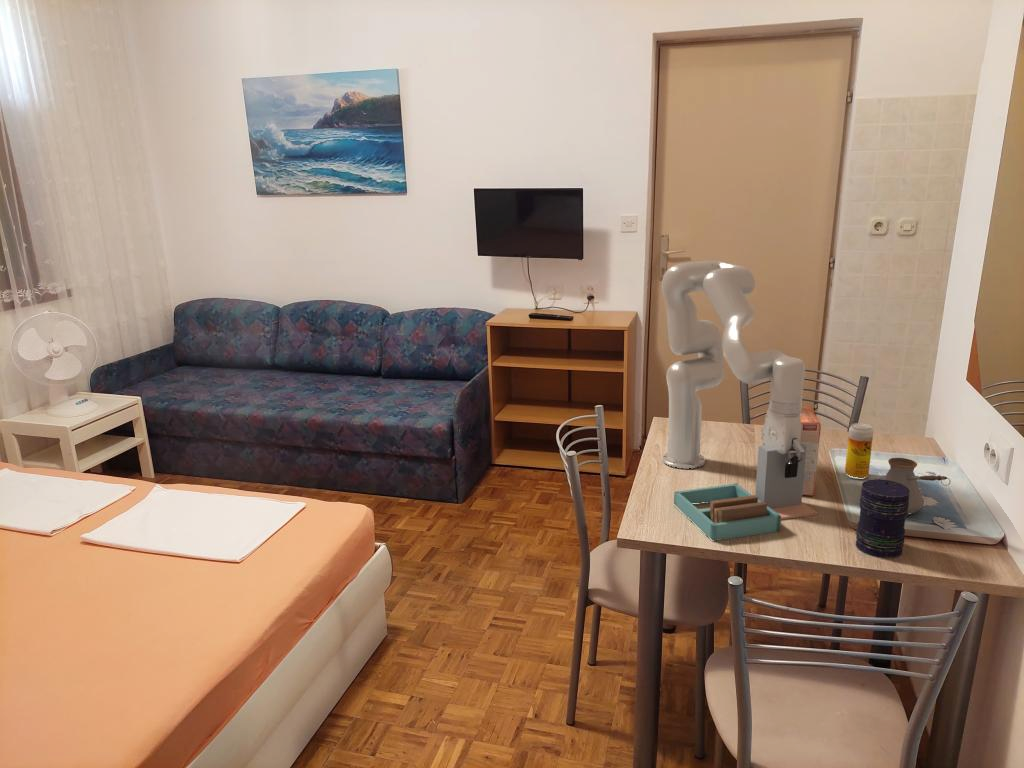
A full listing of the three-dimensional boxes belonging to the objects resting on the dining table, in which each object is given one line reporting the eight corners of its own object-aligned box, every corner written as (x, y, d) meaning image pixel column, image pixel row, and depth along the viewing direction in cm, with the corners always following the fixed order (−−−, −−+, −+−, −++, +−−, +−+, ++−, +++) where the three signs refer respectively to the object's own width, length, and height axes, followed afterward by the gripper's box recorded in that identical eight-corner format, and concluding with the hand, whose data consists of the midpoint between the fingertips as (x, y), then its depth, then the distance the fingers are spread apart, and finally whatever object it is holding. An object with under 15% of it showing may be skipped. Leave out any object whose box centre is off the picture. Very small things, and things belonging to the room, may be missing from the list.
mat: (741, 498, 195) (741, 496, 195) (784, 492, 198) (784, 490, 198) (771, 521, 182) (771, 519, 182) (817, 514, 185) (817, 512, 185)
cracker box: (815, 496, 195) (822, 422, 189) (791, 495, 196) (797, 421, 191) (806, 476, 208) (812, 406, 203) (784, 475, 209) (789, 405, 204)
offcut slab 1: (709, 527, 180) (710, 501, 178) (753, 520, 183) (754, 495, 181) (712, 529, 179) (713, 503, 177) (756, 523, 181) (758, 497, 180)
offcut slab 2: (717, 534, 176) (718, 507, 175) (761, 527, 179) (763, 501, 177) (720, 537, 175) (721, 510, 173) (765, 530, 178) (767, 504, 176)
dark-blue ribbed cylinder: (901, 562, 161) (909, 500, 157) (853, 552, 166) (859, 492, 162) (903, 543, 169) (911, 483, 165) (857, 534, 174) (863, 476, 170)
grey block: (754, 503, 191) (758, 445, 186) (792, 498, 193) (796, 441, 189) (763, 509, 187) (767, 451, 183) (801, 504, 189) (806, 446, 185)
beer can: (857, 482, 203) (862, 431, 199) (839, 474, 209) (844, 424, 205) (873, 478, 206) (878, 427, 202) (855, 470, 211) (860, 421, 207)
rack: (673, 505, 192) (674, 491, 191) (735, 497, 196) (736, 483, 195) (712, 541, 173) (712, 525, 172) (779, 531, 177) (781, 515, 176)
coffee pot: (862, 501, 191) (868, 447, 187) (903, 498, 193) (909, 444, 189) (916, 539, 171) (924, 480, 167) (961, 535, 172) (970, 476, 168)
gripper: (752, 397, 190) (748, 458, 195) (792, 418, 174) (786, 484, 179) (778, 395, 192) (773, 455, 197) (820, 416, 176) (813, 481, 181)
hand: (779, 469), depth 188 cm, fingers open, 9 cm apart
